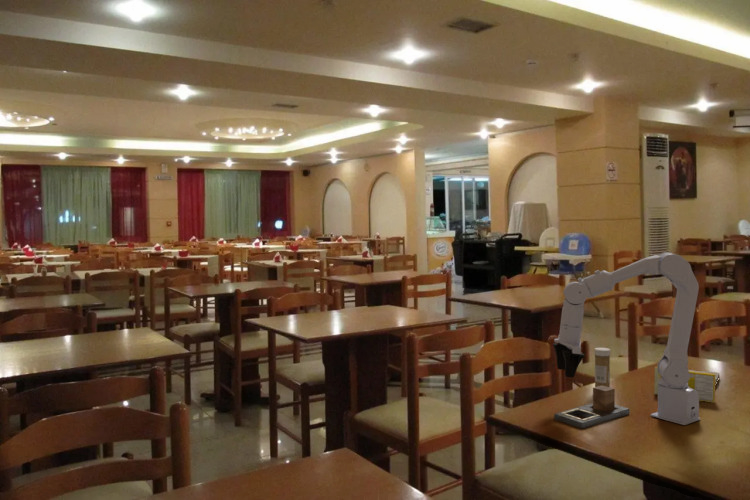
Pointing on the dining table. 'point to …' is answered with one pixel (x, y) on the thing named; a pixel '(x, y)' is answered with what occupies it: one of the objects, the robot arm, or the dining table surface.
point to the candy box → (696, 384)
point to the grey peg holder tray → (589, 415)
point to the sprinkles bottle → (602, 367)
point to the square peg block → (604, 398)
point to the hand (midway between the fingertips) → (565, 373)
